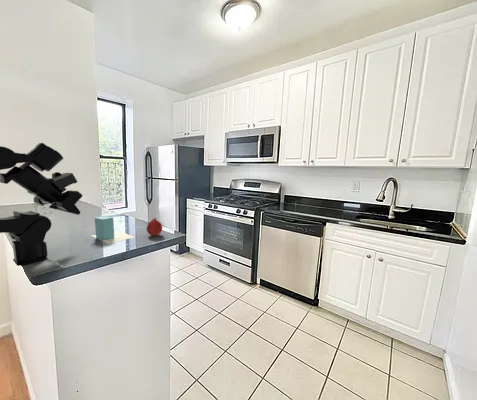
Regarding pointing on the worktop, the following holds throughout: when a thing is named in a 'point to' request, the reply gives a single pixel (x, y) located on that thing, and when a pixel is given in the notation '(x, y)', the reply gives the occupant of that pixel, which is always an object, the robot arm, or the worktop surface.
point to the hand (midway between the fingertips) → (79, 213)
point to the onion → (154, 227)
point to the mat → (117, 237)
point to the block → (104, 228)
